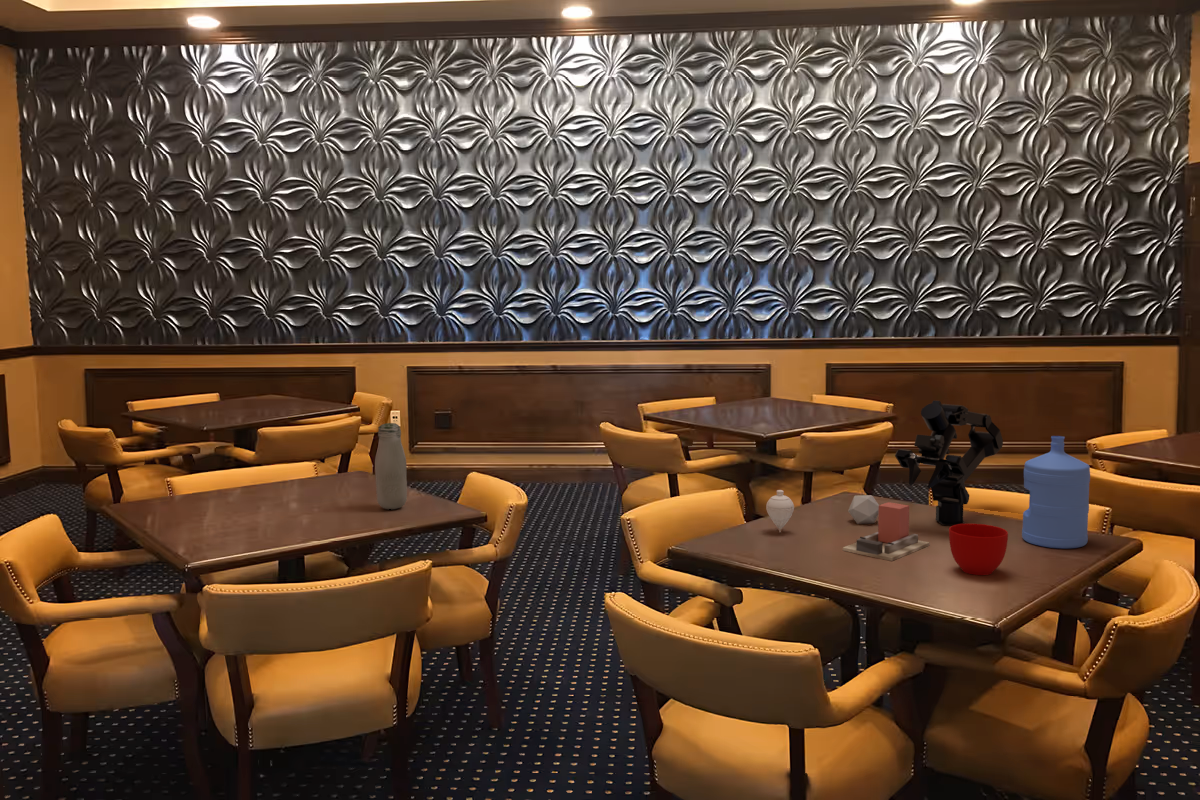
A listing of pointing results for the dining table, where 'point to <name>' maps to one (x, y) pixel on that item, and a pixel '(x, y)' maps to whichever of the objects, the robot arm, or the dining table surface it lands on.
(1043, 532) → the water jug
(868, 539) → the press stand
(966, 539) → the ceramic cup
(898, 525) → the pink upright block
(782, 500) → the spinning top
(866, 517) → the die
